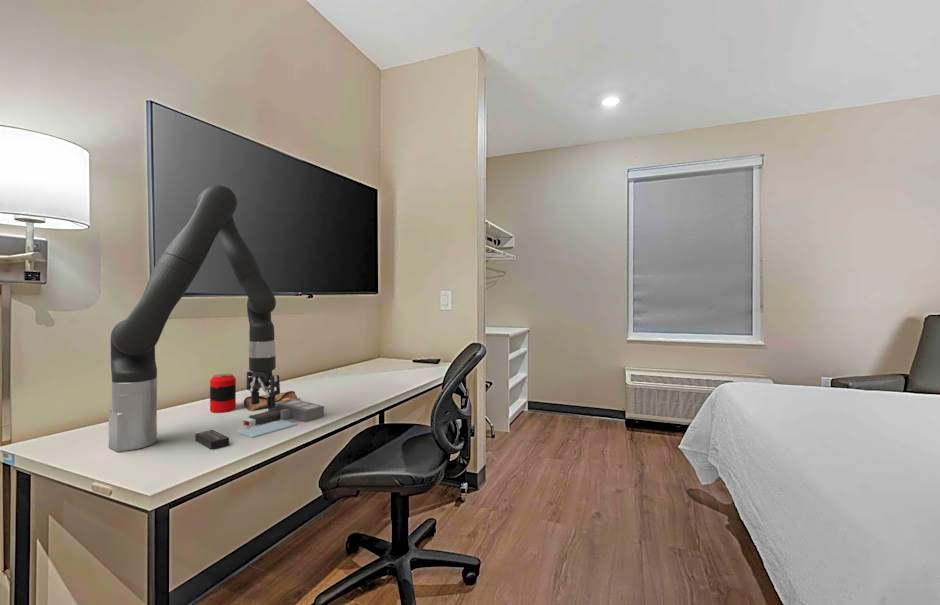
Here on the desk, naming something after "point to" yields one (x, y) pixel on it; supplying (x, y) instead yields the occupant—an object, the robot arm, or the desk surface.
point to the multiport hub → (212, 439)
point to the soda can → (222, 393)
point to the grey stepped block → (298, 410)
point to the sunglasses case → (263, 400)
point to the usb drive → (262, 418)
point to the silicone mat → (267, 428)
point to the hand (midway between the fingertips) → (263, 406)
